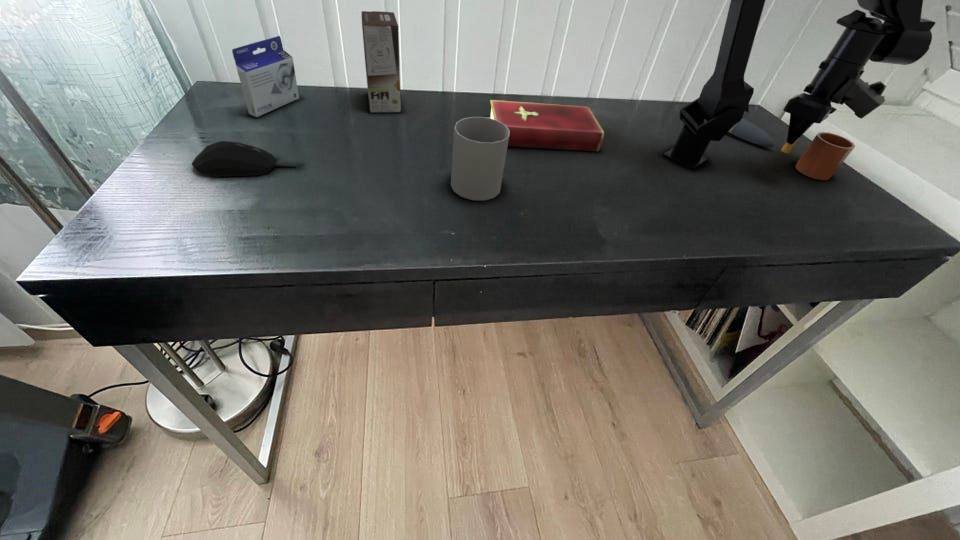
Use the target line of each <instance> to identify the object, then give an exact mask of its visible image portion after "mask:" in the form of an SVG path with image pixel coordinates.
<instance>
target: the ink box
mask: <svg viewBox="0 0 960 540" xmlns="http://www.w3.org/2000/svg"><path fill="white" fill-rule="evenodd" d="M258 49H260V50H262V49H265V50H264V51H261V52H257V53H255V54H254V52H256V51H257V50H258ZM231 51H232V57H233V60H234V63H235V67H236V72H237V75H238V78H239V82H240V86H241V89H242V94H243V97H244V100H245V104H246V108H247V112H248V115H250V116H251V117H254V118H259V117H261V116H263V115H265V114H268V113H269V112H273V111H275V110H276V109H279V108H281V107H283V106H286V105H288V104H290V103H292V102H294V101H297V100H300V96H299V88H298V82H297V75H296V70H295V64H294V59H293V58H294V57H293V56H292V55H291V54H290V53H288V51H286V50H284V46H283V41H282V38H281V36H280V35H277V36H273V37H270V38H265V39H263V40H259V41H256V42H252V43H248V44H245V45H242V46H238V47H235V48H232V49H231Z"/></svg>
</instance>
